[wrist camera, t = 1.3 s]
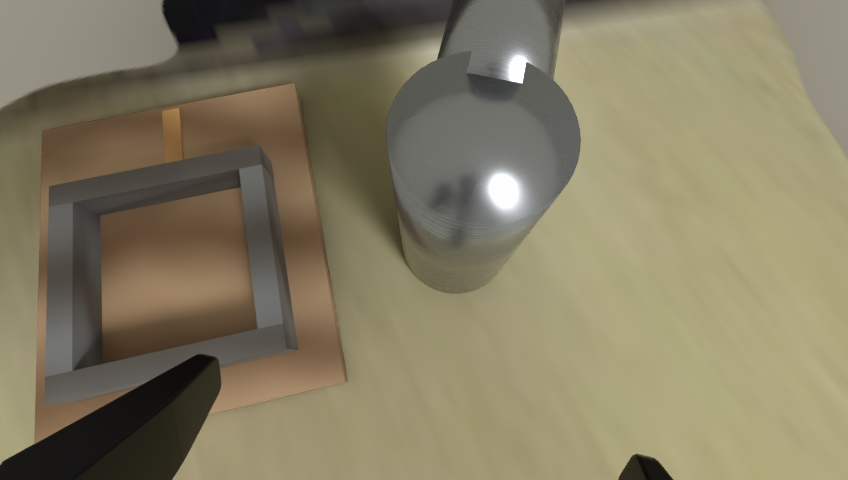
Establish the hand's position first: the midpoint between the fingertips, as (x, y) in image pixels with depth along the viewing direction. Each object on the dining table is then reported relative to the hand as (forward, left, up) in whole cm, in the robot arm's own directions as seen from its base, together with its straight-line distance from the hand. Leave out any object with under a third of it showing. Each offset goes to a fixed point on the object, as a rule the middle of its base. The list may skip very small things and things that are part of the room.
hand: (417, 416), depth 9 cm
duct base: (+13, +8, -14) cm, 20 cm away
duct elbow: (+8, -7, -14) cm, 17 cm away
